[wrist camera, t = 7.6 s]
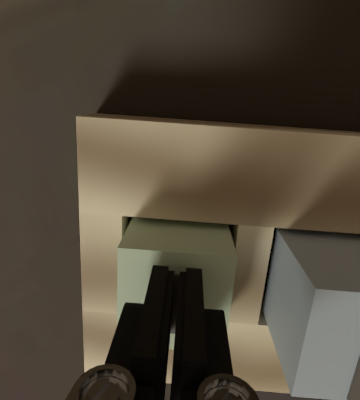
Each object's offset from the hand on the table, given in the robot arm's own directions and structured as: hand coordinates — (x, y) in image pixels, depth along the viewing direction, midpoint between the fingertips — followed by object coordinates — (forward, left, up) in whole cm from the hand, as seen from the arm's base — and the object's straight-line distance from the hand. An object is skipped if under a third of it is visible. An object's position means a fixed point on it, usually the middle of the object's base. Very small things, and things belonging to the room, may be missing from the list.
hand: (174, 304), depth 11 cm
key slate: (0, +6, -3) cm, 7 cm away
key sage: (0, 0, -5) cm, 5 cm away
